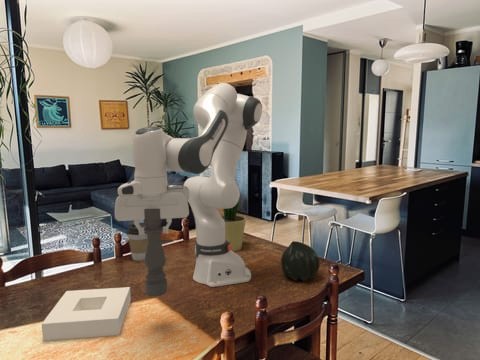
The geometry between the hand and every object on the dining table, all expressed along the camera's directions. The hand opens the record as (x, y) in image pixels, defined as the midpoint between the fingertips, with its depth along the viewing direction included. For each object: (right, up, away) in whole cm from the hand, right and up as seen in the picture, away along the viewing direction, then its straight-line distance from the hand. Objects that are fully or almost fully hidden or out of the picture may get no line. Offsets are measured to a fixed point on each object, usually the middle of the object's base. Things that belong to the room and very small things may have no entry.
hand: (153, 233), depth 102 cm
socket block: (-21, -27, +7) cm, 35 cm away
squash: (+48, -23, +37) cm, 65 cm away
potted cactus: (+20, -18, +72) cm, 76 cm away
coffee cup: (-20, -20, +58) cm, 64 cm away
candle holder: (0, -17, +2) cm, 18 cm away
